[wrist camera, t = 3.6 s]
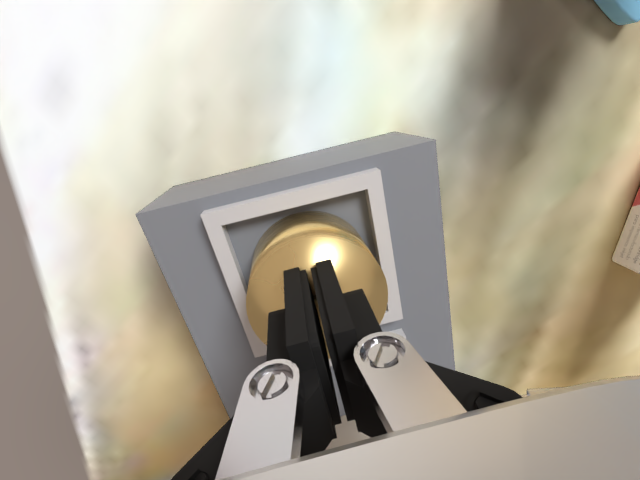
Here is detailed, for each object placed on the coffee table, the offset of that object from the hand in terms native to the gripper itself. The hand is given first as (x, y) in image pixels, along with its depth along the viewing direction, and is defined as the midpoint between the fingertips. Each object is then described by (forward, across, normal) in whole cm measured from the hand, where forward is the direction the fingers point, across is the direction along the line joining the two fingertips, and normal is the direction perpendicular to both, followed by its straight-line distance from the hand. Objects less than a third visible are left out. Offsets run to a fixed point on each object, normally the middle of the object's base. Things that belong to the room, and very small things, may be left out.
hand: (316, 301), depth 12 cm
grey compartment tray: (+8, 0, +8) cm, 11 cm away
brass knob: (+3, 0, 0) cm, 3 cm away
